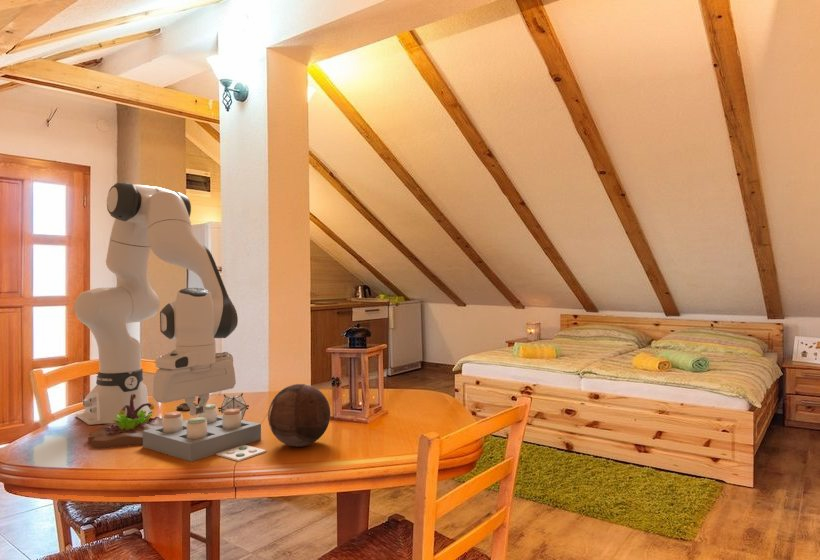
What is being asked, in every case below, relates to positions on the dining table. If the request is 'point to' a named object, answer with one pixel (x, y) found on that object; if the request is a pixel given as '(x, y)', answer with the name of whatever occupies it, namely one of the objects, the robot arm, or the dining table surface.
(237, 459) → the card
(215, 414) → the button
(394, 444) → the dining table surface
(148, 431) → the grey grid tray
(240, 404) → the wireframe polyhedron
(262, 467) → the dining table surface
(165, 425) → the button
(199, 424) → the button
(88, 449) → the dining table surface
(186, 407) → the compass
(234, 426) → the button
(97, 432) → the plant
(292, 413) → the wooden sphere
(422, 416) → the dining table surface
